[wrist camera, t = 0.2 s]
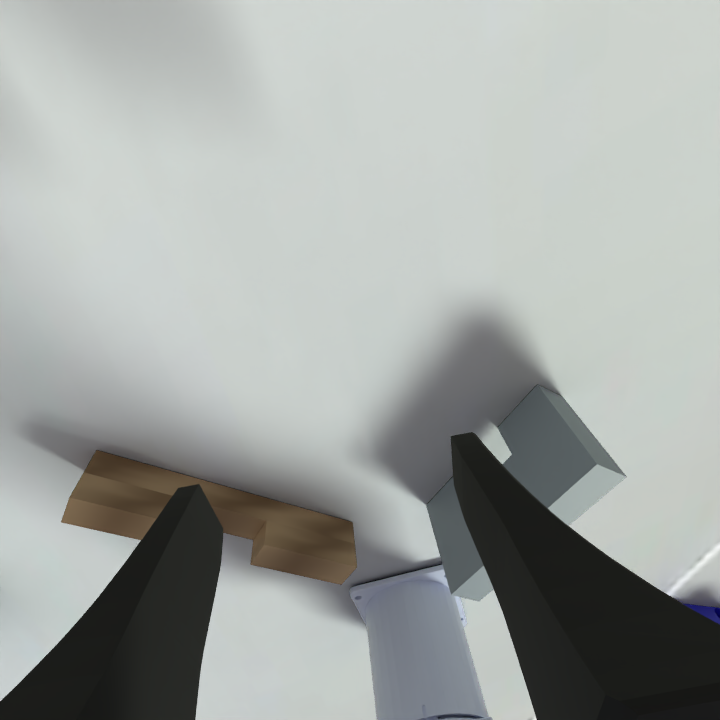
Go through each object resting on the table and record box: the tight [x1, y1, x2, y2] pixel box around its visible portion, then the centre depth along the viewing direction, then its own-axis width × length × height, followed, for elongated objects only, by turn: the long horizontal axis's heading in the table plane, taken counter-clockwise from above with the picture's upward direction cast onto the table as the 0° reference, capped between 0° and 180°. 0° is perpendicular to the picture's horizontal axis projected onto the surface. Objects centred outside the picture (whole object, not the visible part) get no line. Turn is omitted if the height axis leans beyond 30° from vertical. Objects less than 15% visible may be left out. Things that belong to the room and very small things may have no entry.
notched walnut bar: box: [61, 450, 357, 585], centre depth 25 cm, size 16×2×3 cm, turn 60°
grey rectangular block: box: [426, 385, 626, 601], centre depth 24 cm, size 11×2×6 cm, turn 150°
